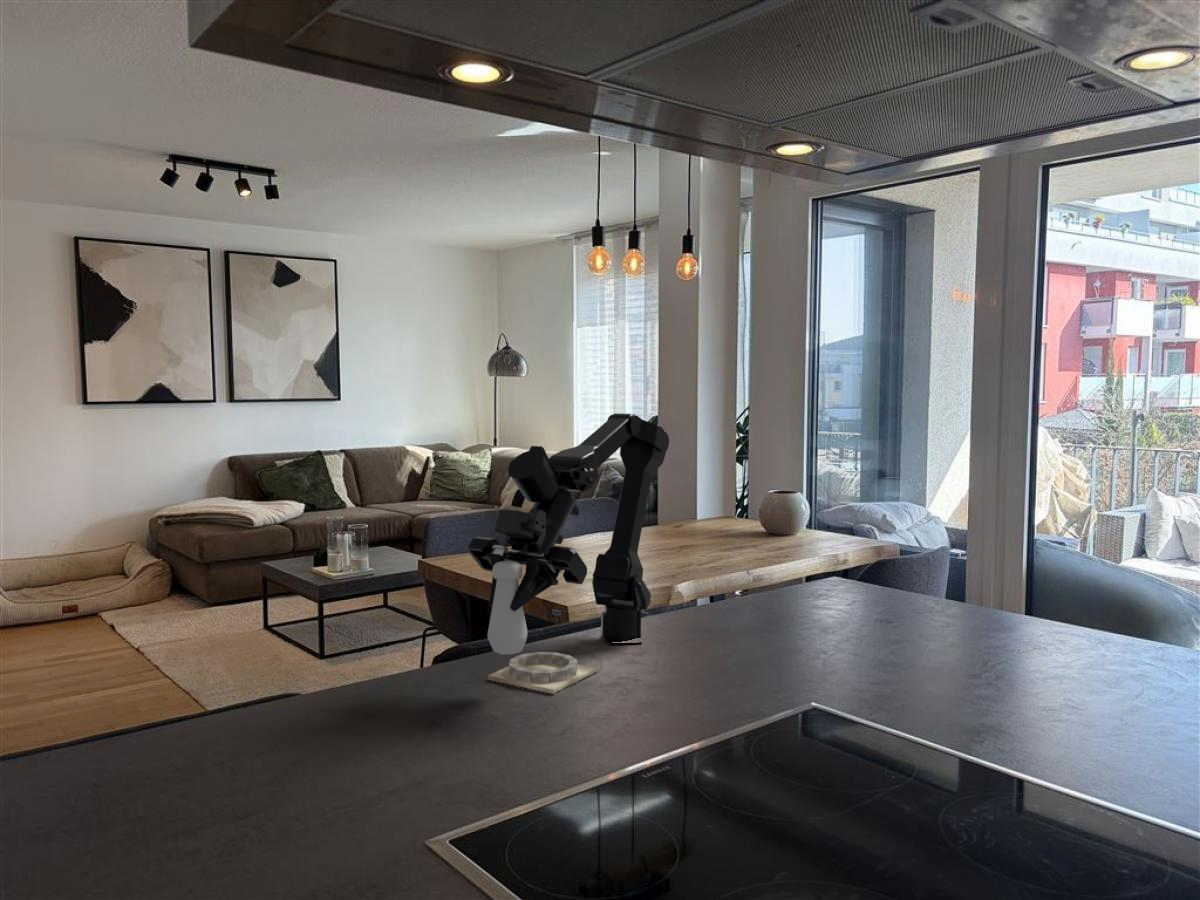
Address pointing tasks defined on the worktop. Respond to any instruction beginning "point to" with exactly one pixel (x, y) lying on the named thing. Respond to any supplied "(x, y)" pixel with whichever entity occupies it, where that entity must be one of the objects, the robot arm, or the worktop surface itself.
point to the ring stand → (541, 671)
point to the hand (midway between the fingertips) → (501, 607)
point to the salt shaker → (506, 611)
